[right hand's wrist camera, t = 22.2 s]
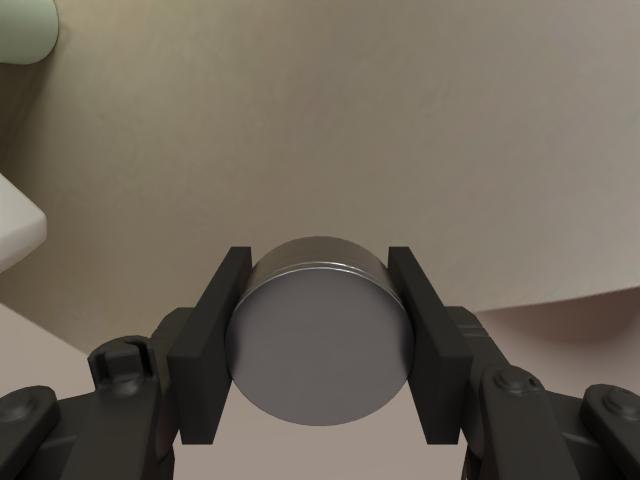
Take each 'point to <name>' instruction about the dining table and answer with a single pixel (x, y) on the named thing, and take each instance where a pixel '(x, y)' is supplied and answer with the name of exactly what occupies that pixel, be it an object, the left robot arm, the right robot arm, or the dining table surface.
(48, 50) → the green bottle
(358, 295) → the lid
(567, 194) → the dining table surface
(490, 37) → the dining table surface
